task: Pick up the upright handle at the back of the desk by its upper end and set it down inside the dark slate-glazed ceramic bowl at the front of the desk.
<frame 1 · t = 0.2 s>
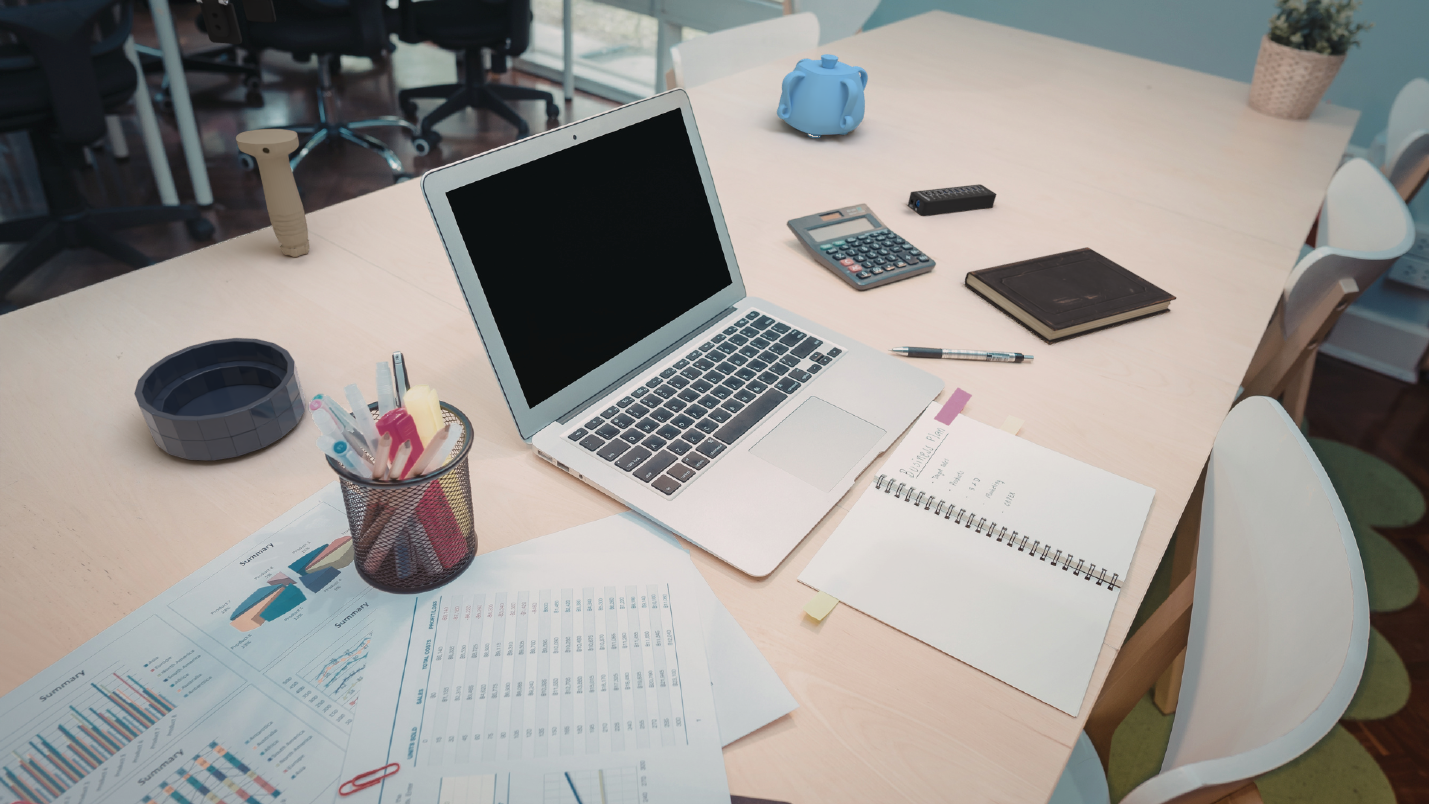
hand: (245, 31, 92), 25 cm above the table, tool pointing down, fingers open, 9 cm apart
bowl: (233, 420, 77), on the table
handle: (297, 253, 104), on the table
multiport hub: (950, 207, 133), on the table
hardcover book: (1065, 299, 111), on the table
decorative pot: (818, 129, 159), on the table
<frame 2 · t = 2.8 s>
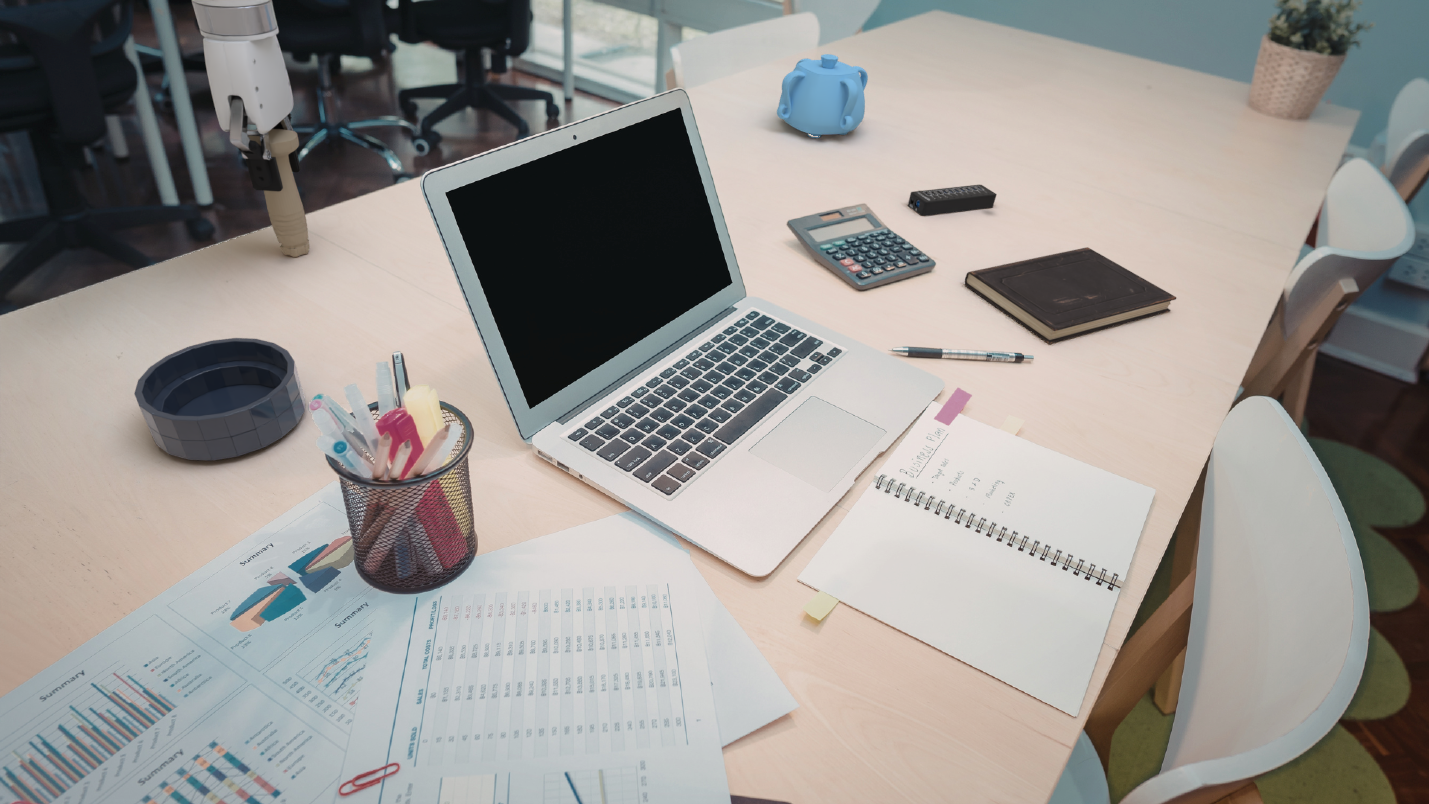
hand: (277, 178, 98), 10 cm above the table, tool pointing down, fingers closed on handle, 5 cm apart
handle: (297, 253, 104), on the table, touching gripper
everything else where it was.
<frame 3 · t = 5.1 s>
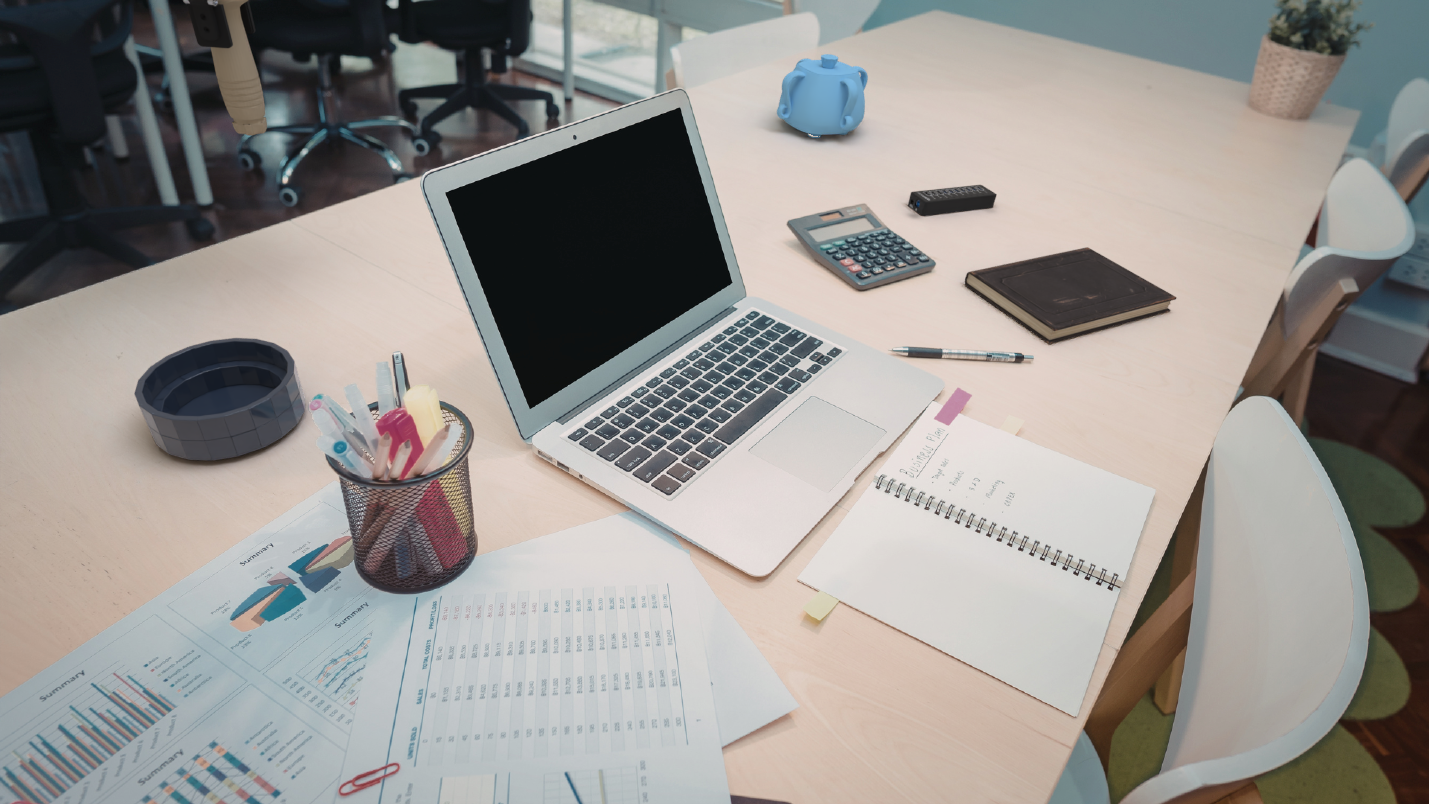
hand: (227, 37, 84), 27 cm above the table, tool pointing down, fingers closed on handle, 5 cm apart
handle: (252, 133, 90), point 17 cm above the table, touching gripper
everything else where it was.
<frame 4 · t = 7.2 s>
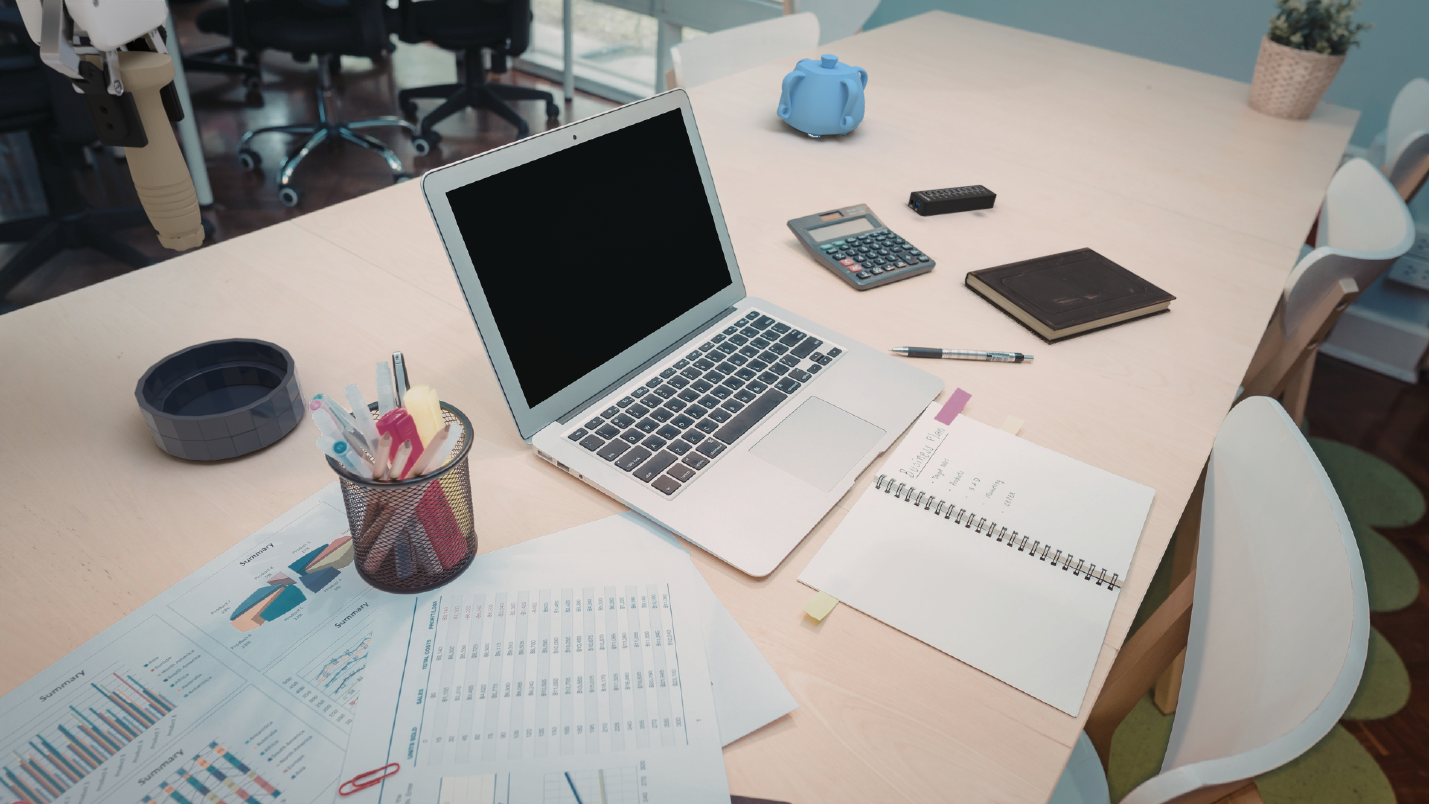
hand: (144, 129, 63), 27 cm above the table, tool pointing down, fingers closed on handle, 5 cm apart
handle: (185, 246, 69), point 17 cm above the table, touching gripper
everything else where it was.
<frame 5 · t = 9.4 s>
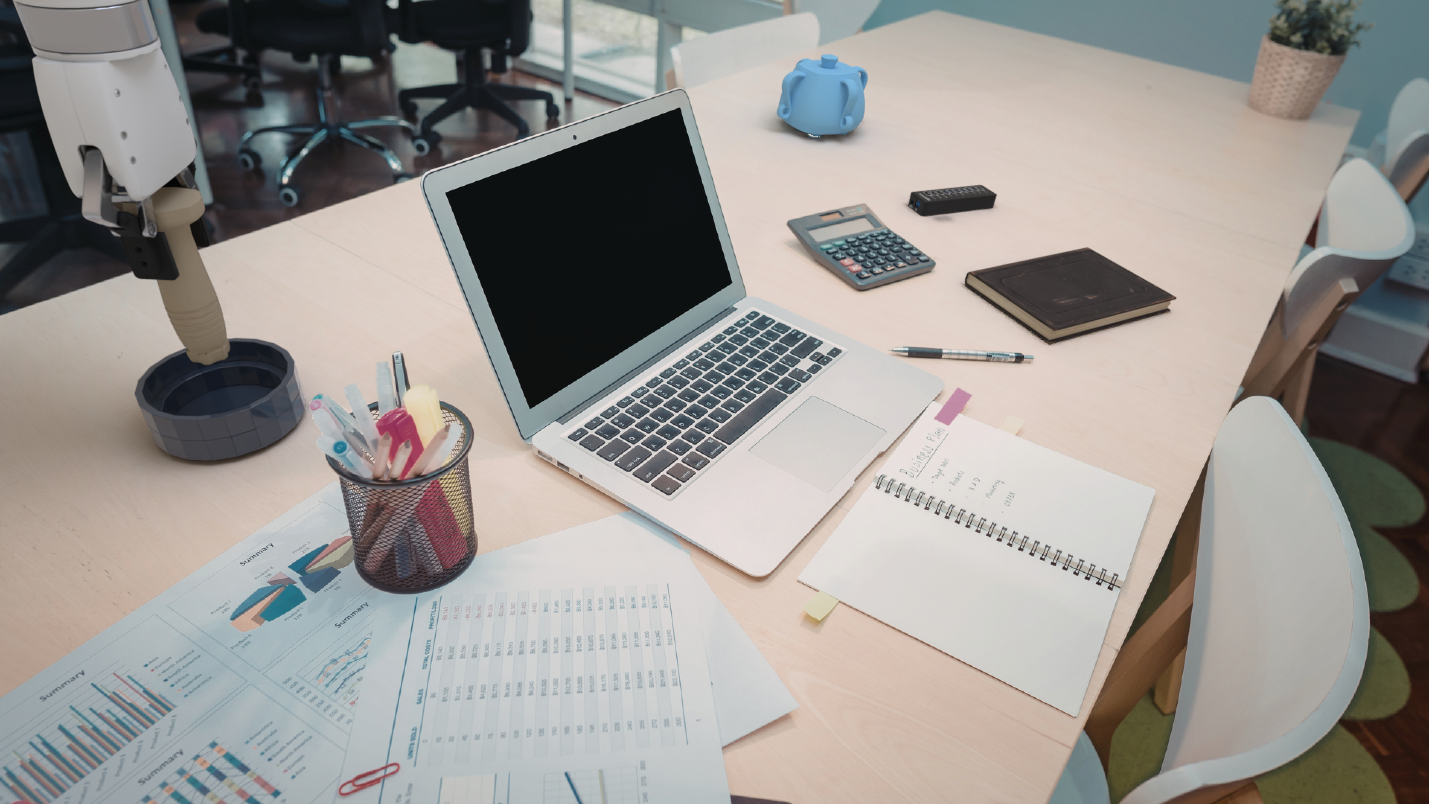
hand: (175, 258, 67), 17 cm above the table, tool pointing down, fingers closed on handle, 5 cm apart
handle: (211, 358, 73), point 7 cm above the table, touching gripper
everything else where it was.
when the fingers open (10 cm above the table, at t = 11.5 s): handle stays where it is, resting on bowl.
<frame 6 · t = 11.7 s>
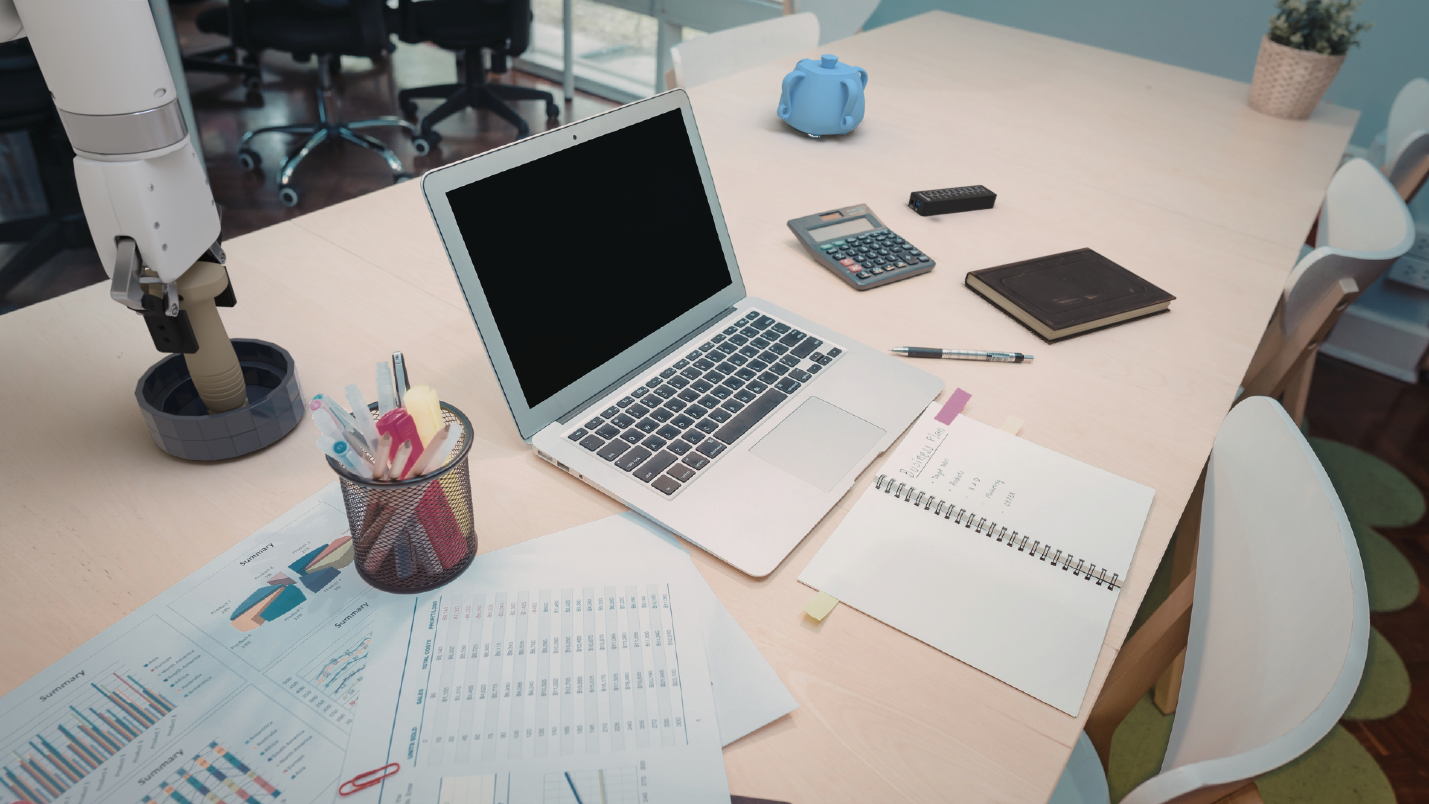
hand: (199, 326, 71), 11 cm above the table, tool pointing down, fingers open, 6 cm apart
handle: (232, 416, 77), resting on bowl
everything else where it was.
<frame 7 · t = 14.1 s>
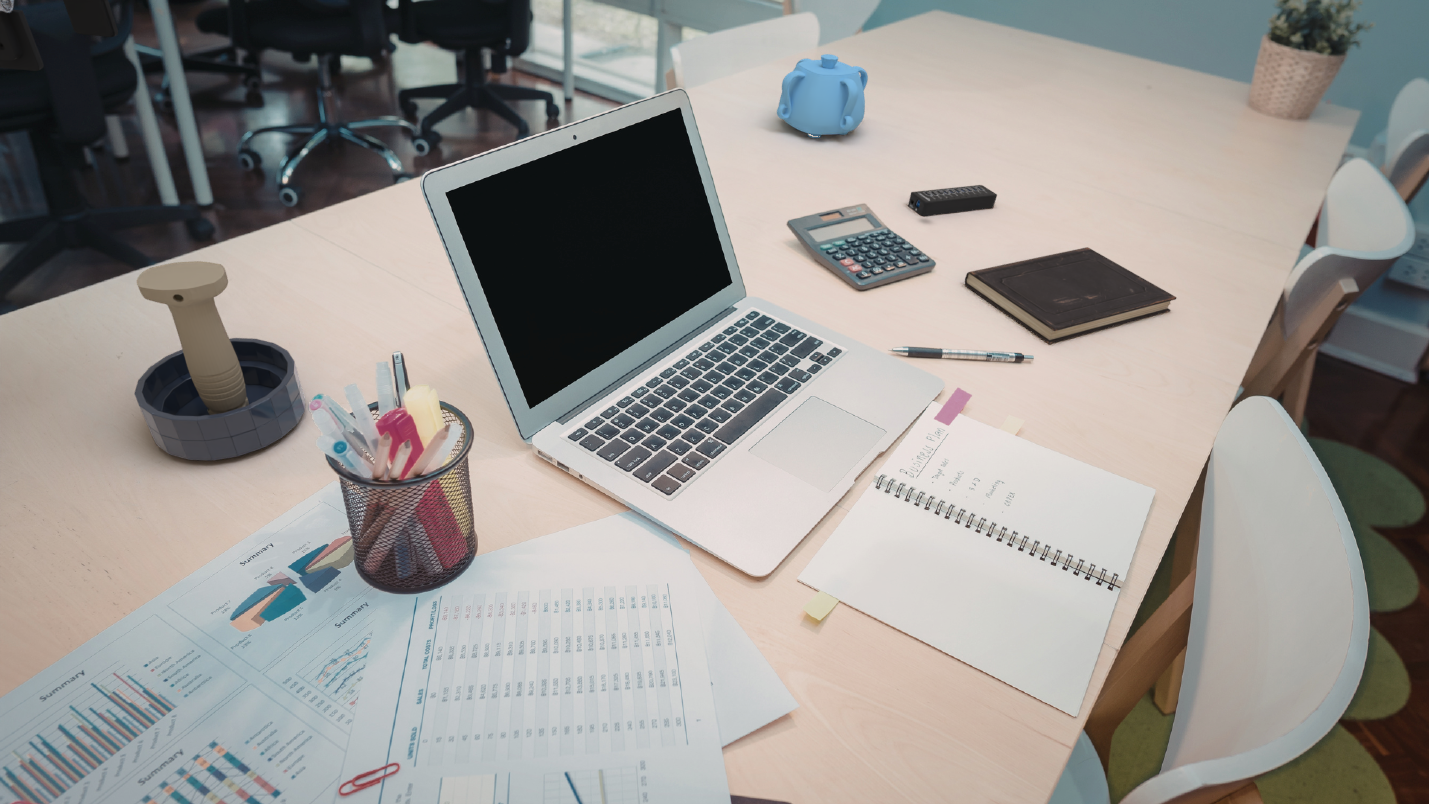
hand: (61, 50, 63), 31 cm above the table, tool pointing down, fingers open, 9 cm apart
nothing on the table moved.
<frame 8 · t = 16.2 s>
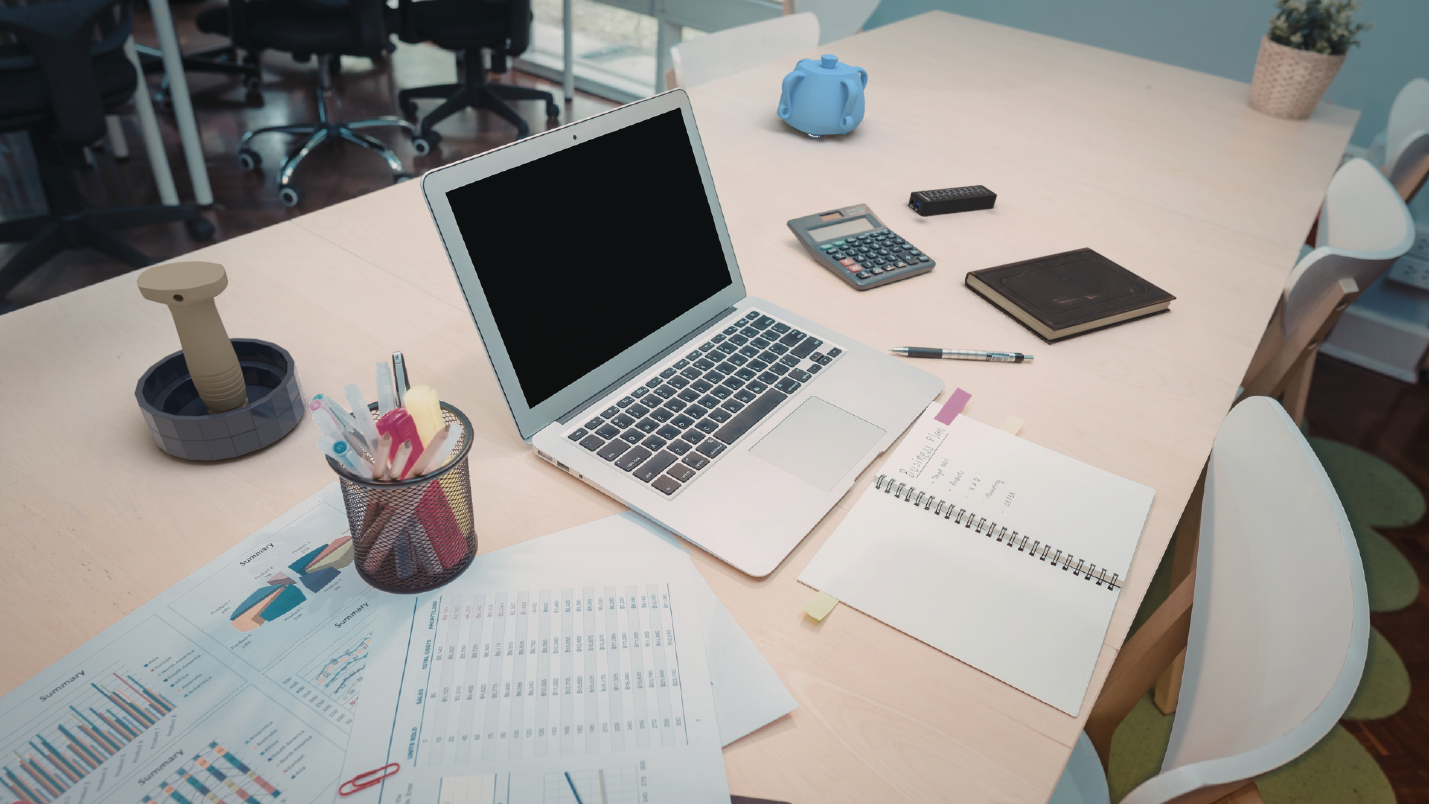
nothing on the table moved.
at the end: handle inside the target area in the bowl (0.1 cm from its centre), point 0.4 cm above the bowl's base; the gripper is holding nothing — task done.
